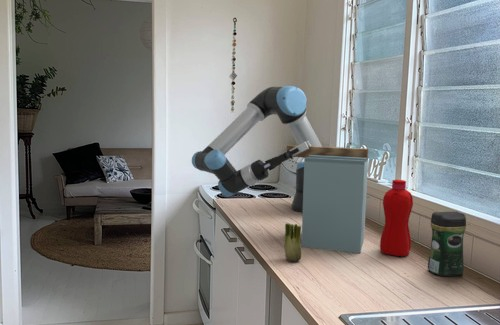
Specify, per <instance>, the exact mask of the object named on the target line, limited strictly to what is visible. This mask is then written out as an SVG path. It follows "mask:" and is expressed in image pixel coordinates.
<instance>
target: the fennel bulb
mask: <svg viewBox="0 0 500 325" xmlns="http://www.w3.org/2000/svg"><path fill="white" fill-rule="evenodd" d="M284 226H285V228H284V229H285V231H284V232H285V234H284V255H285V258H286V260H287V261H288V262H290V263H297V262H299V261H301V259H302V247H301V244H302V242H301V233H302V225H298V224H297V223H294V224H293V223H289V222H286V223H285V225H284Z"/></svg>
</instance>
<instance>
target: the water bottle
mask: <svg viewBox="0 0 500 325" xmlns="http://www.w3.org/2000/svg"><path fill="white" fill-rule="evenodd" d="M391 180H392V181H391V182H392V184H391V189H389V190H387V191H386V192H385V194H384V195H383V200H382V207H383V208H382V209H383V212H384V225H383V229H382V233H381V235H380V236H381V237H380V241H379V242H380V243H379V249H380V252H381V253H383V254H384V255H389V256H395V257H399V256H401V257H406V256H408V254H409V253H410V252H411V247H412V245H411V244H412V243H411V242H412V238H411V234H410V226H409V220H410V216H411V213H412V210H413V206H414V197H413V195H412V192H410V191H409V190H407V188H406V187H407V186H406V185H407V181H406V180H404V179H391Z"/></svg>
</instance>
